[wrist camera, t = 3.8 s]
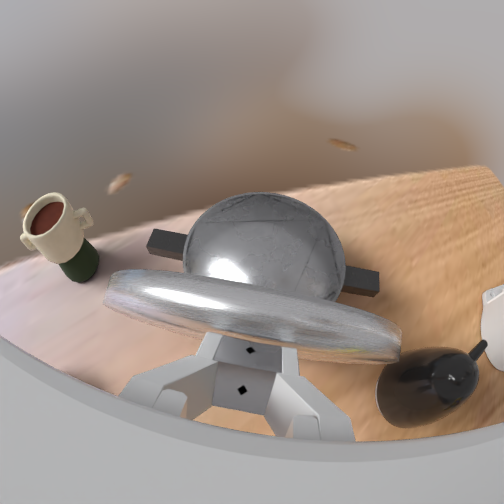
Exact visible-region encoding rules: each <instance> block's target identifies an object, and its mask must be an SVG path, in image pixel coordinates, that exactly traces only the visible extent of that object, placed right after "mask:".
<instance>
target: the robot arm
mask: <svg viewBox="0 0 504 504" xmlns="http://www.w3.org/2000/svg"><path fill="white" fill-rule="evenodd" d="M482 300H483V313H482V318H481V336H482V340H483V339H484V340H486V341H487V343H488V346H487V347H486V349H485V352H486V354H487V357H488V358H489V360H490V362H491V363H492V364H493V366H494V367H495V368H497V369H498V370H500V371H504V284H503V285H500V286H498V287H495V288H492V289H489V290H487V291H485V292H483V294H482ZM212 405H213V406H218V407H223V408H228V409H234V410H239V411H244V412H249V413H254V414H259V415H264V417H265V419H266V421H267V422H268V424H269V425H270V427H271V429H272V430H273V432H274V433H275V435H276V436H269V435H262V434H256V433H250V432H244V431H238V430H233V429H228V428H223V427H218V426H214V425H209V424H205V423H201V422H197V421H193V419H195V418H196V417H198V416H199V415H200V414H202V413H203V412H205V411H206V410H207V409H209V408H210V407H211V406H212ZM0 504H504V422H503V423H499V424H495V425H491V426H487V427H483V428H479V429H474V430H469V431H464V432H459V433H454V434H448V435H441V436H434V437H426V438H417V439H406V440H392V441H364V442H356V441H355V437H354V432H353V428H352V424H351V420H350V418H349V417H348V416H347V415H346V414H345V413H344V412H343V411H341V410H340V409H339V408H338V407H337V406H336V405H335V404H334V403H332V402H331V401H330V400H329V399H328V398H327V397H326V396H325V395H324V394H322V393H321V392H320V391H319V390H318V389H317V388H316V387H315V386H314V385H313V384H311V383H310V382H309V381H308V380H307V379H306V378H305V377H303V376H300V373H299V363H298V353H297V349H296V348H292V347H284V346H277V345H271V344H264V343H258V342H252V341H249V340H244V339H240V338H235V337H231V336H226V335H222V334H218V333H213V332H207V333H206V335H205V337H204V339H203V341H202V343H201V345H200V347H199V349H198V351H197V353H196V355H195V356H193V355H190V356H187V357H185V358H182V359H179V360H177V361H174V362H171V363H169V364H166V365H163V366H161V367H158V368H155V369H152V370H149V371H147V372H144V373H141V374H138V375H135V376H133V377H132V378H131V380H130V381H129V382H128V384H127V385H126V386H125V388H124V389H123V391H122V392H121V393H120V395H119V396H116V395H113V394H111V393H108V392H106V391H103V390H101V389H99V388H96V387H94V386H92V385H89V384H87V383H85V382H83V381H81V380H79V379H76V378H74V377H72V376H70V375H68V374H66V373H64V372H62V371H60V370H58V369H56V368H54V367H52V366H51V365H49V364H47V363H45V362H43V361H41V360H40V359H38V358H36V357H34V356H33V355H31V354H29V353H27V352H26V351H24V350H22V349H21V348H19V347H18V346H16V345H14V344H13V343H11V342H10V341H8V340H7V339H5V338H4V337H2V336H1V335H0Z"/></svg>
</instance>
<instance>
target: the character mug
mask: <svg viewBox="0 0 504 504" xmlns="http://www.w3.org/2000/svg"><path fill="white" fill-rule="evenodd" d="M82 216H83V218H84V219H85V221H83V222H80V220H79V217H82ZM92 225H93V219H92V218H91V216H90V214H89V212H88V211H87V209H85V208H81V209H78V210H76V211H74V210H73V208H72V207H71V205H70V204H69V202H68V200H67V199H66V198H65V197H64V196H63V195H62V194H61V193H56V192H54V193H49V194H46V195H44V196H42V197H41V198H39V199H38V200H37V201H36V202H35V203H34V204H33V205H32V206H31V207H30V209H29V210H28V212H27V214H26V216H25V219H24V222H23V230H24V233H23V234H22V235H21V237H20V239H21V241H22V242H23V244H24V245H25V246H26V247H27V248H28V249H29V250H35V249H38V250H39V251H40V252H41V253H42V254H43V255H44V256H45V258H46V259H47V260H49V261H50V262H53V263H56V264H59V265H60V267H61V269H62V270H63V272H64V273H65V274H66V276H67V277H68V278H69V279H71V280H72V281H75V282H83V281H85V280H88V279H89V278H90V277H91V276H92V275H93V274H94V273H95V270H96V268H97V266H98V261H99V255H98V253H97V250H96V249H95V248H94V247H93V246H92V245H91V244H90V243H89V242H88V241H87V240H86V239H85V238H84V229H86V228H88V227H91V226H92Z"/></svg>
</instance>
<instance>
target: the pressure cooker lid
mask: <svg viewBox="0 0 504 504" xmlns="http://www.w3.org/2000/svg"><path fill="white" fill-rule="evenodd" d="M103 305H105V306H106V307H108V308H110V309H112V310H114V311H116V312H118V313H121V314H123V315H125V316H128V317H130V318H133V319H136V320H138V321H141V322H144V323H147V324H150V325H153V326H156V327H159V328H162V329H165V330H168V331H172V332H175V333H179V334H182V335H186V336H189V337H193V338H197V339H201V340H203V339H204V337H205V335H206V333H207V332H213V333H218V334H222V335H226V336H231V337H235V338H240V339H244V340H249V341H252V342H258V343H264V344H271V345H277V346H284V347H292V348H296V349H297V353H298V359H306V360H315V361H324V362H336V363H351V364H390V363H396V362H399V357H400V349H401V340H402V330H401V328H400V327H399V326H398V325H397V324H395V323H393V322H391V321H390V320H388V319H385V318H383V317H380V316H378V315H376V314H373V313H370V312H367V311H364V310H361V309H357V308H354V307H351V306H347V305H343V304H340V303H336V302H332V301H329V300H324V299H320V298H316V297H311V296H307V295H303V294H299V293H294V292H289V291H284V290H279V289H275V288H270V287H265V286H260V285H254V284H249V283H243V282H238V281H232V280H227V279H221V278H214V277H208V276H201V275H195V274H187V273H179V272H171V271H160V270H146V269H129V270H120V271H117V272H114V273H113V274H112V275H111V277H110V280H109V283H108V287H107V290H106V293H105V297H104V300H103Z"/></svg>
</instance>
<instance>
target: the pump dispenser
mask: <svg viewBox="0 0 504 504" xmlns="http://www.w3.org/2000/svg"><path fill="white" fill-rule="evenodd" d="M487 346H488V343H487V341H486V340H484V339H483V340H481V341H480V342H479V343H478V344H477V345H476V346H475V347H474V348H473V349H472V350H471V351H470V352H469V353H468V354H467V353H466V352H464V351H462V350H459V349H455V348H450V347H425V348H419V349H414V350H409V351H406V352H403V353H401V354H400V357H399V362H396V363H390V364H387V365H386V366H385V367H384V369H383V371H382V373H381V375H380V376H379V379H378V381H377V384H376V389H375V400H376V404H377V407H378V409H379V411H380V413H381V414H382V415H383V417H384V418H385V419H386V420H387V421H388V422H389V423H390V424H392V425H394V426H396V427H399V428H417V427H421V426H424V425H428V424H431V423H433V422H436V421H438V420H440V419H442V418H444V417H446V416H447V415H449V414H451V413H452V412H454V411H455V410H457V409H458V408H459V407H461V406H462V405H463V404H464V403H465V402H466V401H467V400H468V399H469V398H470V396H471V395H472V394H473V392H474V391H475V389H476V387H477V384H478V381H479V369H478V365H477V363H476V361H477V360H478V358H479V357H480V356H481V354H482V353H483V352H484V350H485V349H486V347H487Z"/></svg>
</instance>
